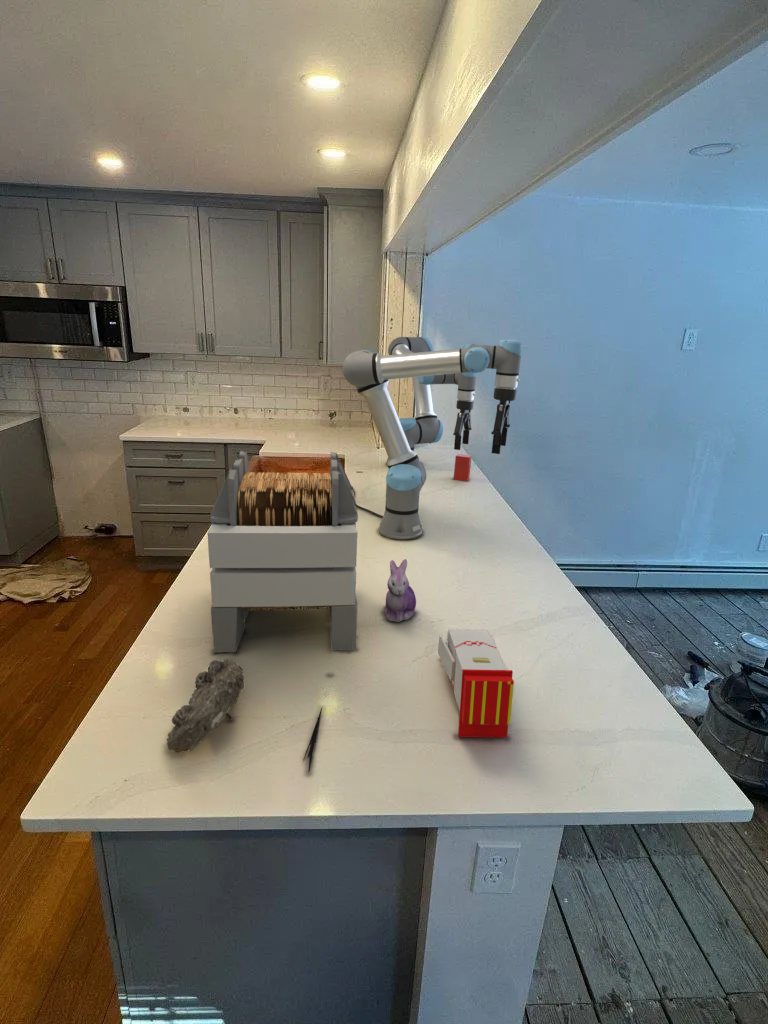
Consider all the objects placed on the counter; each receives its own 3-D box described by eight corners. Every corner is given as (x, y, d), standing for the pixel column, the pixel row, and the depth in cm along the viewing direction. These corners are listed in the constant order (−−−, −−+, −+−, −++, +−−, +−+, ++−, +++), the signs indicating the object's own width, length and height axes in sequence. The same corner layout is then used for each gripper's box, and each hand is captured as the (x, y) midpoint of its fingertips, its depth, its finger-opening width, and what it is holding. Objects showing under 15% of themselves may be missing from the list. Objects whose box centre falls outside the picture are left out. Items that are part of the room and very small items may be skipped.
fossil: (192, 660, 117) (244, 628, 112) (224, 691, 120) (276, 661, 115) (142, 746, 98) (202, 712, 93) (182, 779, 101) (242, 748, 96)
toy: (488, 613, 130) (523, 677, 101) (484, 667, 133) (517, 744, 104) (435, 612, 130) (455, 676, 101) (432, 666, 133) (451, 743, 103)
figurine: (392, 627, 141) (395, 572, 136) (374, 608, 149) (376, 556, 144) (425, 619, 145) (429, 566, 140) (405, 601, 154) (408, 550, 149)
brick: (467, 481, 265) (469, 457, 262) (453, 479, 267) (455, 455, 263) (469, 478, 270) (471, 455, 266) (455, 477, 272) (457, 453, 268)
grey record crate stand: (232, 584, 158) (225, 442, 144) (349, 583, 162) (353, 444, 148) (211, 655, 127) (198, 480, 113) (357, 651, 130) (362, 482, 117)
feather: (331, 679, 122) (336, 673, 122) (307, 777, 96) (313, 769, 95) (324, 675, 122) (329, 669, 121) (298, 772, 95) (304, 764, 95)
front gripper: (512, 393, 179) (504, 458, 186) (521, 384, 201) (514, 443, 208) (488, 391, 181) (481, 455, 188) (500, 383, 203) (493, 441, 211)
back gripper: (466, 404, 242) (461, 453, 249) (480, 397, 263) (476, 442, 271) (449, 402, 244) (445, 451, 251) (464, 396, 266) (460, 440, 273)
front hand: (498, 449), depth 198 cm, fingers open, 13 cm apart
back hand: (461, 446), depth 261 cm, fingers open, 13 cm apart
